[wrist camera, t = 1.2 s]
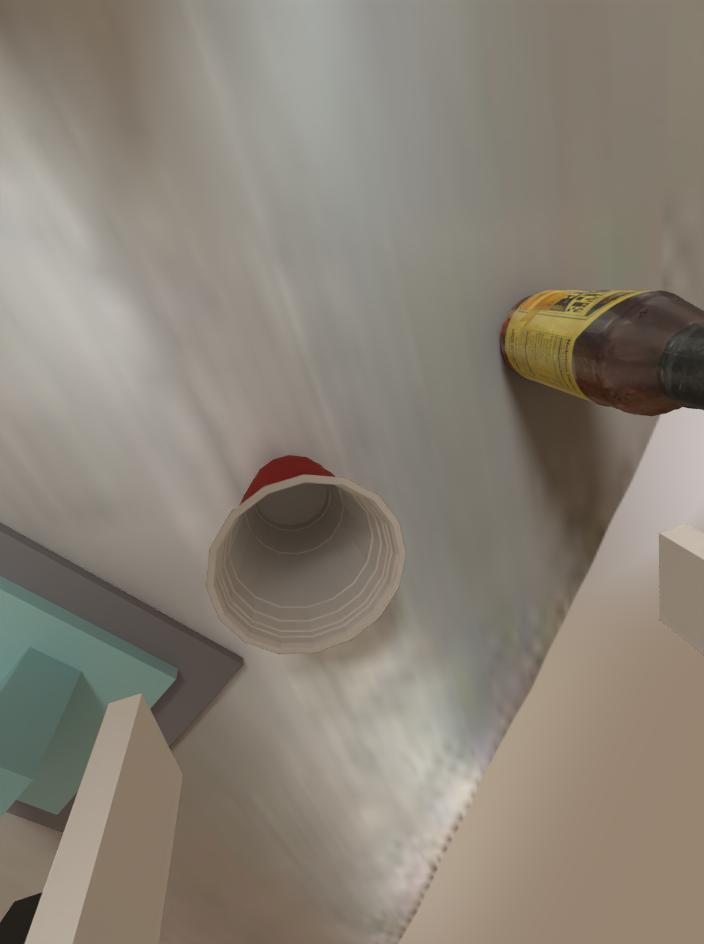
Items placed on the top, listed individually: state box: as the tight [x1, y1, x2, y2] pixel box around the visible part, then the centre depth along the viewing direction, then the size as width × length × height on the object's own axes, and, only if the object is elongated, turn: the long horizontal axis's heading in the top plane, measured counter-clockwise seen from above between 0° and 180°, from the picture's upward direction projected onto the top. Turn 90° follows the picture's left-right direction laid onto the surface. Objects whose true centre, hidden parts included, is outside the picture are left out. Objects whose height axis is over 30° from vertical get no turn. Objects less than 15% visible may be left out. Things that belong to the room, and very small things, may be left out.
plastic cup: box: [206, 456, 406, 654], centre depth 33 cm, size 11×11×12 cm
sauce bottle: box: [500, 290, 704, 416], centre depth 28 cm, size 7×6×20 cm
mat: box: [0, 523, 243, 832], centre depth 39 cm, size 24×22×1 cm
